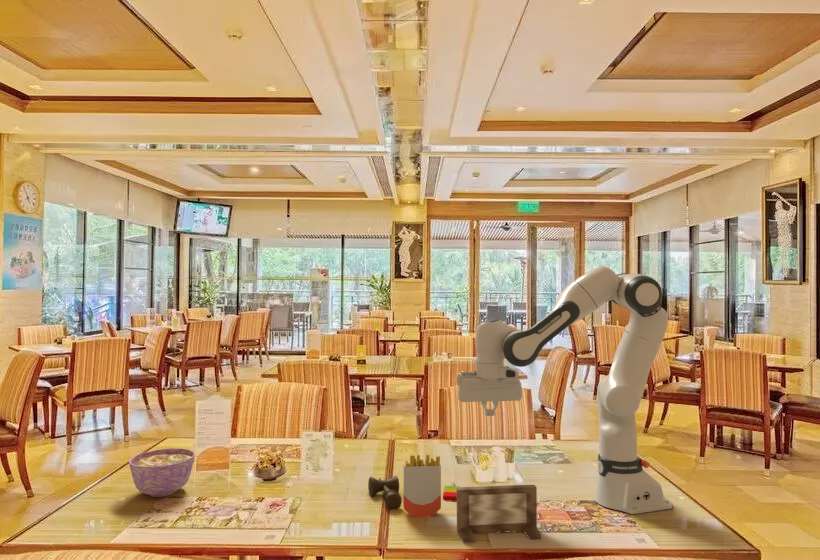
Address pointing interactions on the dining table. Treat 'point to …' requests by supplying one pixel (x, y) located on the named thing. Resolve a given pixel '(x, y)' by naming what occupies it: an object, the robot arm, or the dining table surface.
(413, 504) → the french fries container
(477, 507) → the menu board
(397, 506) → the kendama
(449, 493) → the popsicle
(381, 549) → the dining table surface
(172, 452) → the bowl of food
